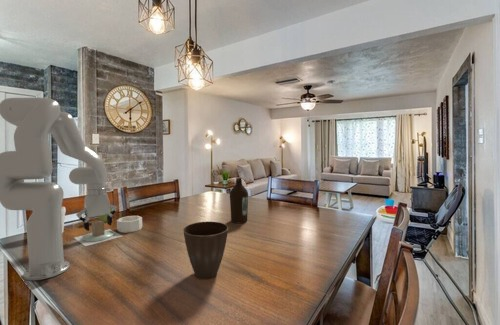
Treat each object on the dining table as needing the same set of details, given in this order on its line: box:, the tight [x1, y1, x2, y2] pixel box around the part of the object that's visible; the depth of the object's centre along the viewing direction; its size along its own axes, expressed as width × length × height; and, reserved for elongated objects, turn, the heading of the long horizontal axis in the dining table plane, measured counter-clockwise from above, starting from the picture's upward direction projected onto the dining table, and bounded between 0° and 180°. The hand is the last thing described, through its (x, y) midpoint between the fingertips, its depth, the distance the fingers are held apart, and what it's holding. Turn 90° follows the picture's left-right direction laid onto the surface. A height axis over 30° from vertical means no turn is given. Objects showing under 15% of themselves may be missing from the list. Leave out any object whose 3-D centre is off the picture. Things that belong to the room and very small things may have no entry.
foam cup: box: [61, 206, 66, 234], centre depth 127 cm, size 10×9×13 cm
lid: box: [82, 220, 115, 242], centre depth 122 cm, size 13×13×7 cm
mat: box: [73, 228, 123, 247], centre depth 123 cm, size 16×16×1 cm
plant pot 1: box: [97, 204, 115, 223], centre depth 150 cm, size 9×9×9 cm
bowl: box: [116, 215, 143, 234], centre depth 134 cm, size 11×11×6 cm
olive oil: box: [229, 177, 249, 224], centre depth 148 cm, size 11×11×25 cm
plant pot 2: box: [182, 221, 229, 280], centre depth 88 cm, size 15×15×16 cm
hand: (98, 227), depth 123 cm, fingers open, 9 cm apart
